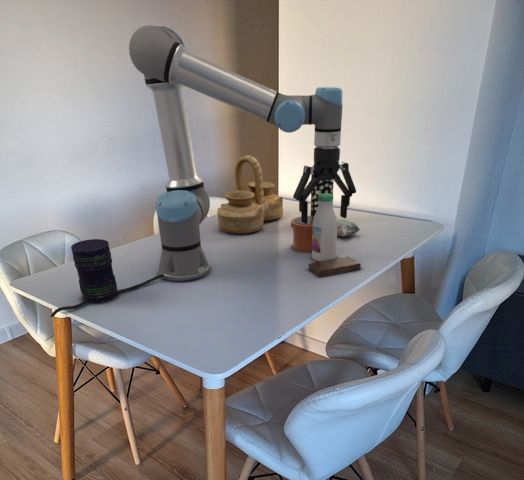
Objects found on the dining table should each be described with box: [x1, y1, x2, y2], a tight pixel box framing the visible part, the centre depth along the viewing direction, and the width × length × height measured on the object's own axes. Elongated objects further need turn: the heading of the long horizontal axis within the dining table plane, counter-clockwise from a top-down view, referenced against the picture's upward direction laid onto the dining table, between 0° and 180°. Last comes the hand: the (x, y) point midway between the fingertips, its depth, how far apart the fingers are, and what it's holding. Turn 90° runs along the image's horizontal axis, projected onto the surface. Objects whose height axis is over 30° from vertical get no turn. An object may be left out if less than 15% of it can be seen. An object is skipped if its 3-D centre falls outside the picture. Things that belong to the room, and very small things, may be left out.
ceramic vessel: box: [216, 155, 284, 234], centre depth 194 cm, size 34×18×25 cm, turn 154°
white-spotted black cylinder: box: [310, 171, 335, 216], centre depth 194 cm, size 8×8×20 cm
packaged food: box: [337, 219, 361, 238], centre depth 183 cm, size 9×12×5 cm
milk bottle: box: [311, 193, 338, 262], centre depth 159 cm, size 8×8×20 cm
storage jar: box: [70, 238, 119, 305], centre depth 140 cm, size 10×10×15 cm
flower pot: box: [290, 215, 314, 253], centre depth 172 cm, size 11×11×9 cm
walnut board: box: [308, 255, 362, 278], centre depth 155 cm, size 14×7×2 cm, turn 112°
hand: (324, 219), depth 158 cm, fingers open, 13 cm apart
